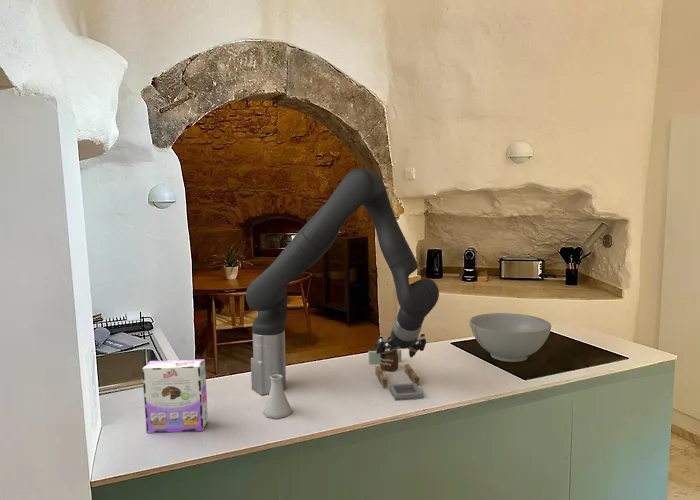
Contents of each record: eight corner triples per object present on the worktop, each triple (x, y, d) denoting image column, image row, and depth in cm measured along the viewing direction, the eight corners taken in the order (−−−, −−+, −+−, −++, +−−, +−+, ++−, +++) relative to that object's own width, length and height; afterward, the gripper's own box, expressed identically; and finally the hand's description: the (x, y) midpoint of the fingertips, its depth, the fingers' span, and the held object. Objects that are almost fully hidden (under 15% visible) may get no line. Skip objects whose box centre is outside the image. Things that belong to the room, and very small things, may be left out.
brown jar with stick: (385, 364, 169) (385, 329, 167) (402, 368, 165) (402, 332, 164) (376, 369, 164) (376, 333, 162) (393, 373, 160) (393, 336, 159)
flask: (278, 405, 137) (277, 369, 136) (297, 412, 133) (296, 375, 132) (257, 414, 132) (256, 377, 131) (276, 422, 127) (275, 383, 126)
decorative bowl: (453, 355, 177) (453, 321, 176) (497, 340, 194) (498, 309, 193) (522, 375, 157) (523, 337, 155) (565, 357, 174) (566, 322, 172)
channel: (419, 385, 150) (419, 377, 149) (383, 388, 148) (383, 380, 148) (408, 371, 161) (408, 364, 161) (375, 374, 160) (375, 366, 160)
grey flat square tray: (423, 398, 141) (423, 393, 140) (395, 400, 139) (395, 395, 139) (415, 387, 148) (415, 382, 148) (388, 389, 147) (388, 384, 147)
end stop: (401, 362, 171) (401, 350, 170) (369, 364, 169) (369, 352, 169) (400, 360, 172) (400, 349, 172) (368, 362, 171) (368, 351, 170)
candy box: (209, 421, 128) (206, 358, 126) (203, 432, 122) (199, 366, 121) (153, 422, 128) (150, 359, 126) (145, 433, 122) (141, 367, 120)
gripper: (428, 315, 144) (417, 343, 157) (379, 318, 142) (371, 345, 155) (434, 339, 140) (422, 365, 152) (383, 341, 137) (375, 368, 150)
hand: (396, 355), depth 153 cm, fingers open, 8 cm apart
